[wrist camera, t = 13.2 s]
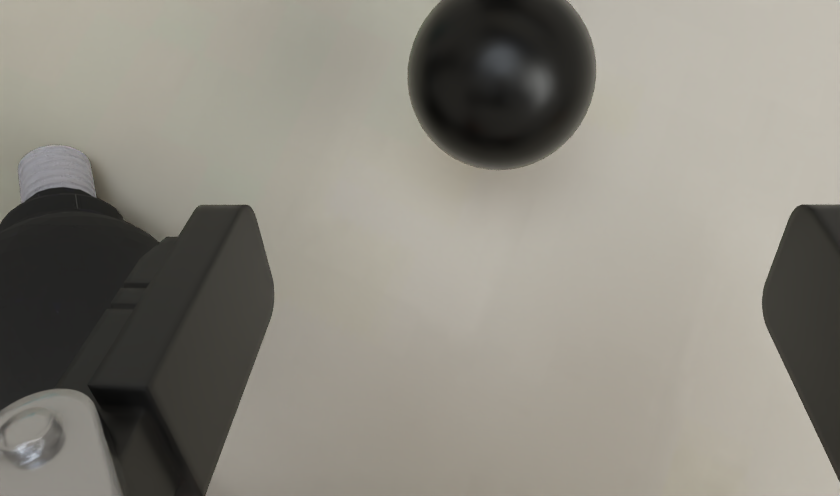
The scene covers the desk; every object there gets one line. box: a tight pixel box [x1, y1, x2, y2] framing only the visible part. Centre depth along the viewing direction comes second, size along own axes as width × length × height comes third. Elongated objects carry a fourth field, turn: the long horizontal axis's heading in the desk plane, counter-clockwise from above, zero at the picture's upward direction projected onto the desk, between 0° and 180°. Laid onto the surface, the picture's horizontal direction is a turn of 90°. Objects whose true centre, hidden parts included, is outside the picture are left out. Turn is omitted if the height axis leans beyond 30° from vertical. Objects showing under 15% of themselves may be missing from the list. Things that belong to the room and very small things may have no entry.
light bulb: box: [0, 145, 159, 411], centre depth 19 cm, size 6×6×10 cm
